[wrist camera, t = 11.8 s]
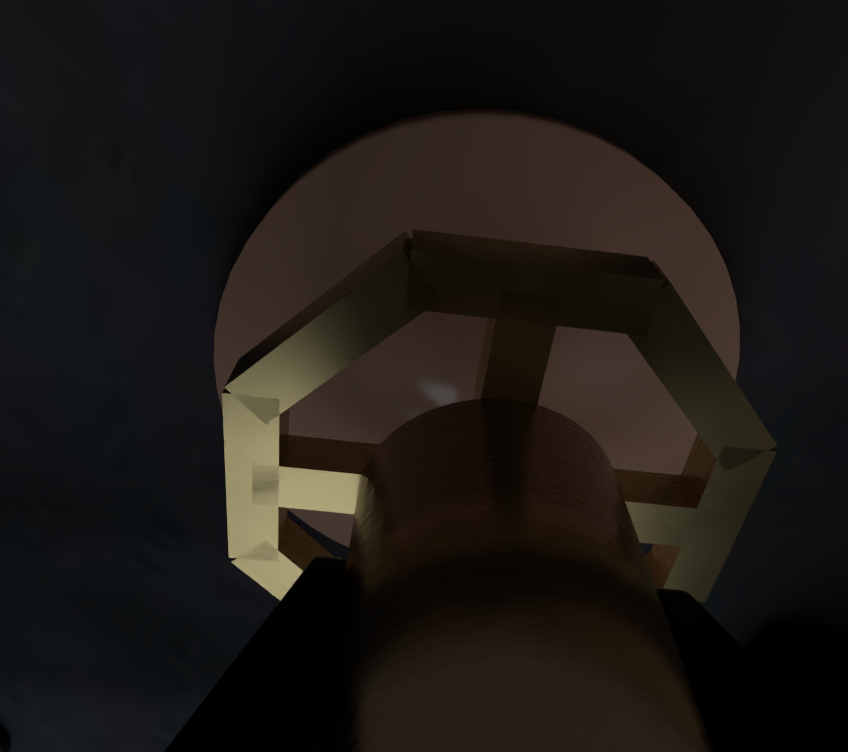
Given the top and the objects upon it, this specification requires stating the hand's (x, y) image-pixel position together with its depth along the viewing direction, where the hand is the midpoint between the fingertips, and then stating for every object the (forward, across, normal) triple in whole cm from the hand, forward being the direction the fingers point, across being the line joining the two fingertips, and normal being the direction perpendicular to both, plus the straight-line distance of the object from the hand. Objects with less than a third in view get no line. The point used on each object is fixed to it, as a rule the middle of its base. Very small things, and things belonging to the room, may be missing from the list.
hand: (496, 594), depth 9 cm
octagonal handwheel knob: (+3, 0, 0) cm, 3 cm away
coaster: (+6, 0, 0) cm, 6 cm away
